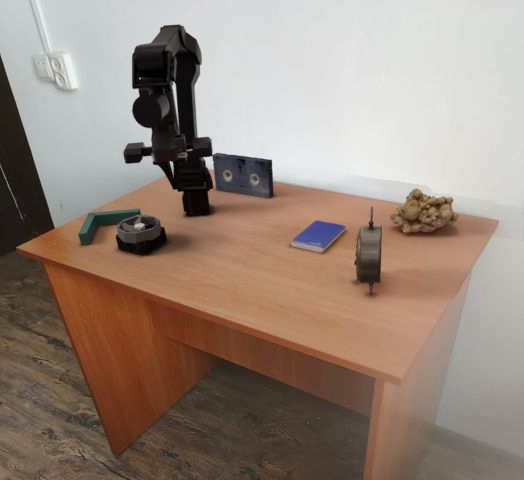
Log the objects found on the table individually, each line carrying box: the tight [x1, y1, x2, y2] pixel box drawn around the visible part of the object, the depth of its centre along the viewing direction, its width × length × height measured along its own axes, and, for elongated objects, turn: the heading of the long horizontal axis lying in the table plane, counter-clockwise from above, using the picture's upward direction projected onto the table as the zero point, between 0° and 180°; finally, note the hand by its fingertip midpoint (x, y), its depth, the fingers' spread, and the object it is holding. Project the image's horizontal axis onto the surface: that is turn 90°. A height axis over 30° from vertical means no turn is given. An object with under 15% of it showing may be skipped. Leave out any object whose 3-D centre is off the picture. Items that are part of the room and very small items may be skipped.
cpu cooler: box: [115, 214, 168, 256], centre depth 119 cm, size 10×6×10 cm
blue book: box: [290, 220, 346, 254], centre depth 117 cm, size 2×8×12 cm
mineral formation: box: [388, 187, 460, 234], centre depth 117 cm, size 8×13×15 cm
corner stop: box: [77, 208, 142, 246], centre depth 127 cm, size 14×13×3 cm
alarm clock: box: [353, 205, 383, 296], centre depth 96 cm, size 11×5×16 cm, turn 168°
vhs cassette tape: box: [211, 152, 274, 199], centre depth 141 cm, size 18×3×10 cm, turn 59°
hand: (175, 189), depth 113 cm, fingers closed
